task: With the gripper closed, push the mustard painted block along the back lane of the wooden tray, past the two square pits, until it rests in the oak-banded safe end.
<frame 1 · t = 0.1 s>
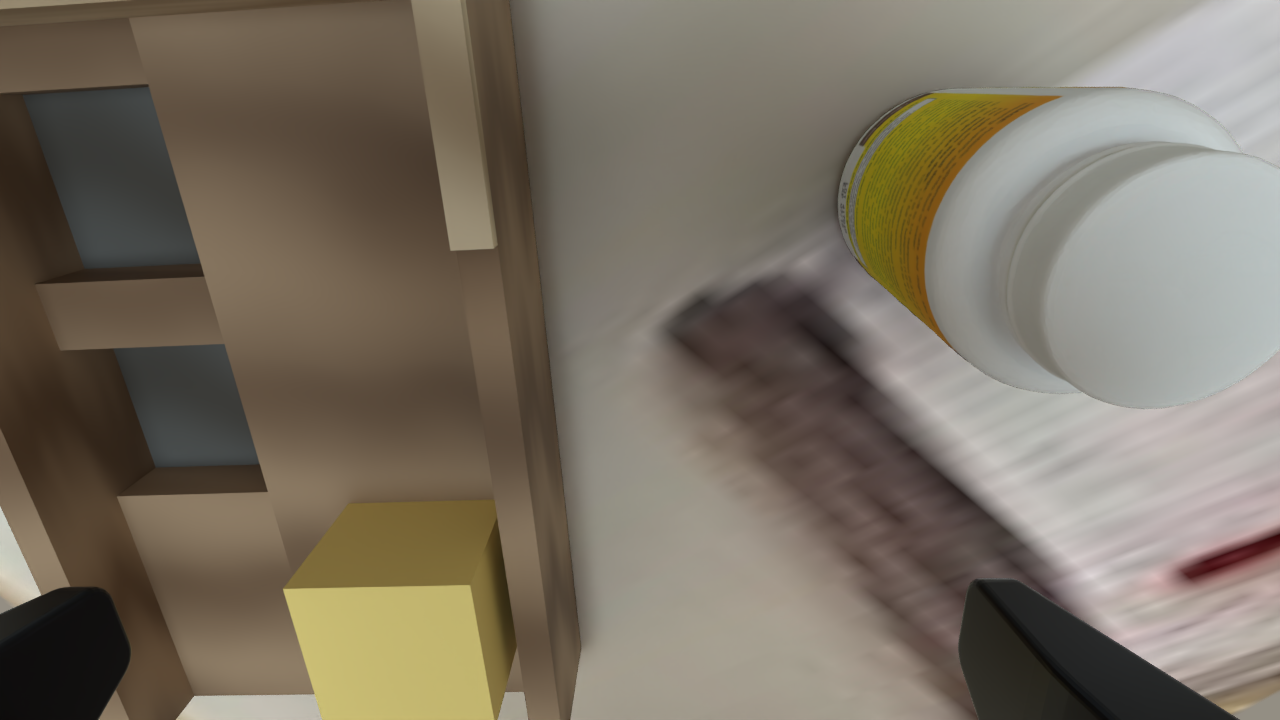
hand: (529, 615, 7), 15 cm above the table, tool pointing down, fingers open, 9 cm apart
block: (438, 566, 23), point 2 cm above the table, touching wooden tray
wooden tray: (322, 378, 22), on the table
supplement bottle: (929, 191, 20), on the table
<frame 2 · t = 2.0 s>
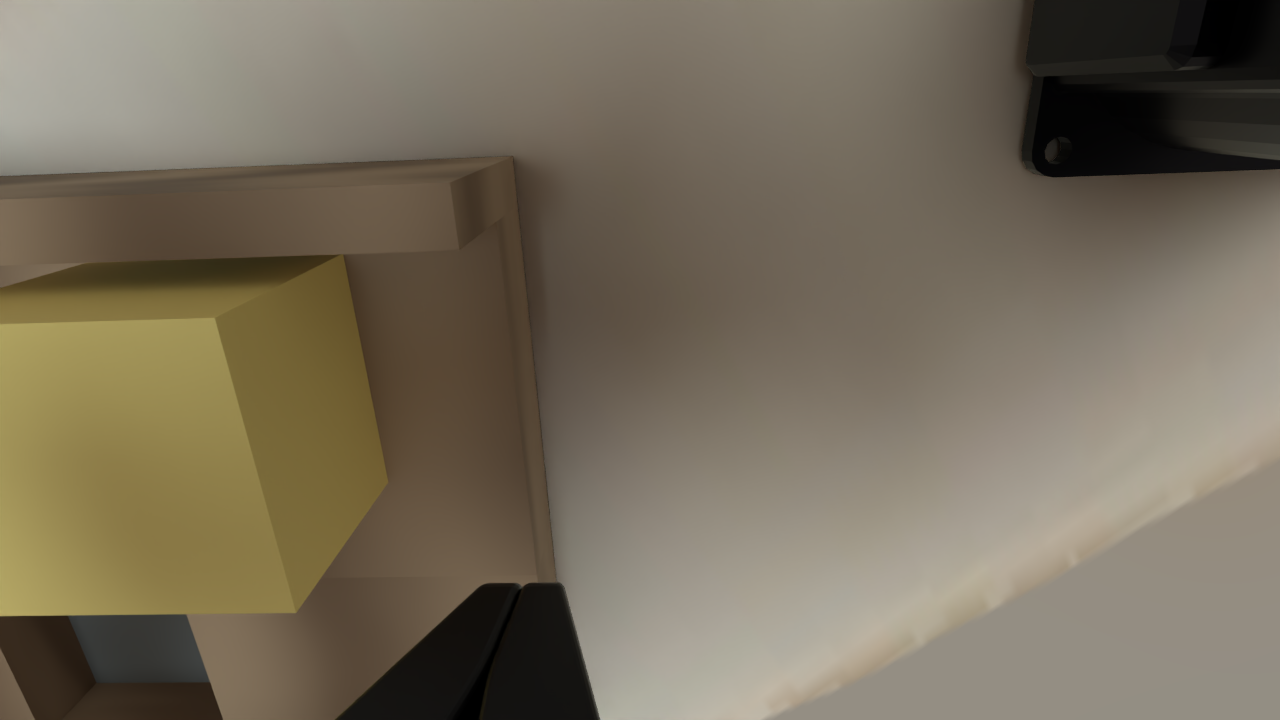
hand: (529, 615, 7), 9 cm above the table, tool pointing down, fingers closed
block: (247, 378, 14), point 2 cm above the table, touching wooden tray
wooden tray: (95, 481, 17), on the table
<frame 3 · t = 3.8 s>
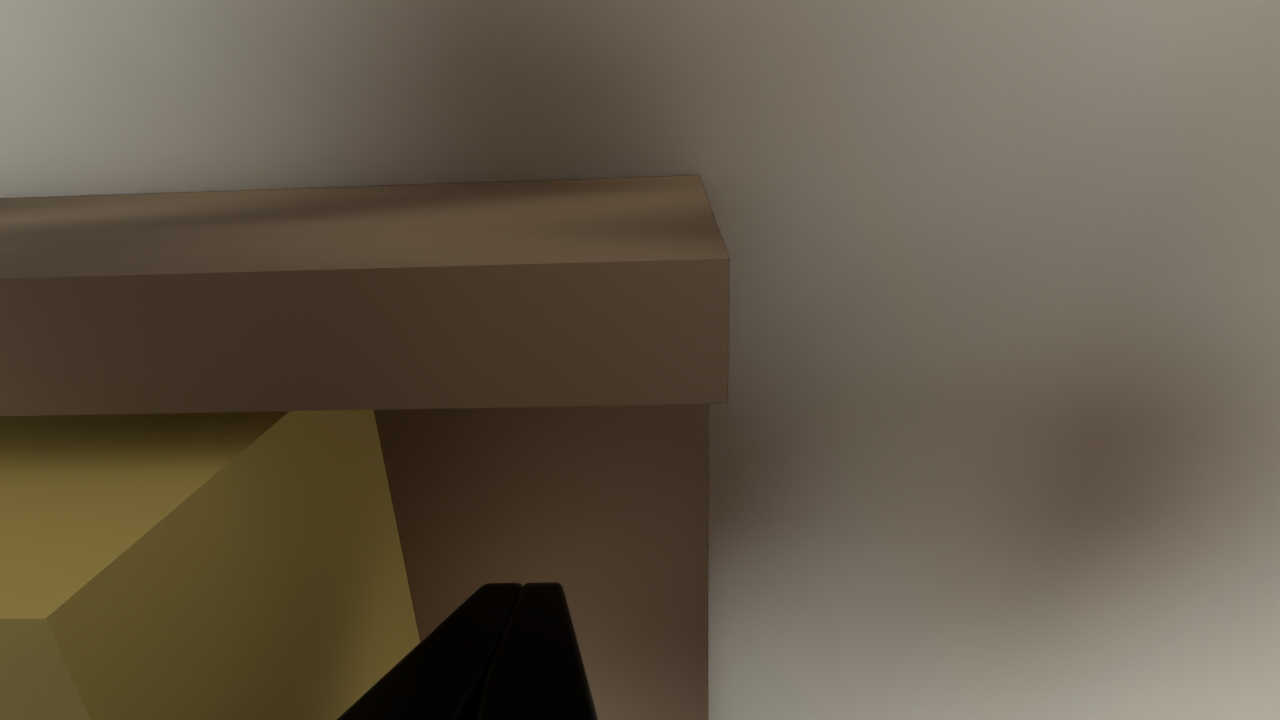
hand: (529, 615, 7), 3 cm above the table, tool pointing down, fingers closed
block: (199, 546, 8), point 2 cm above the table, touching gripper, wooden tray
wooden tray: (29, 647, 12), on the table
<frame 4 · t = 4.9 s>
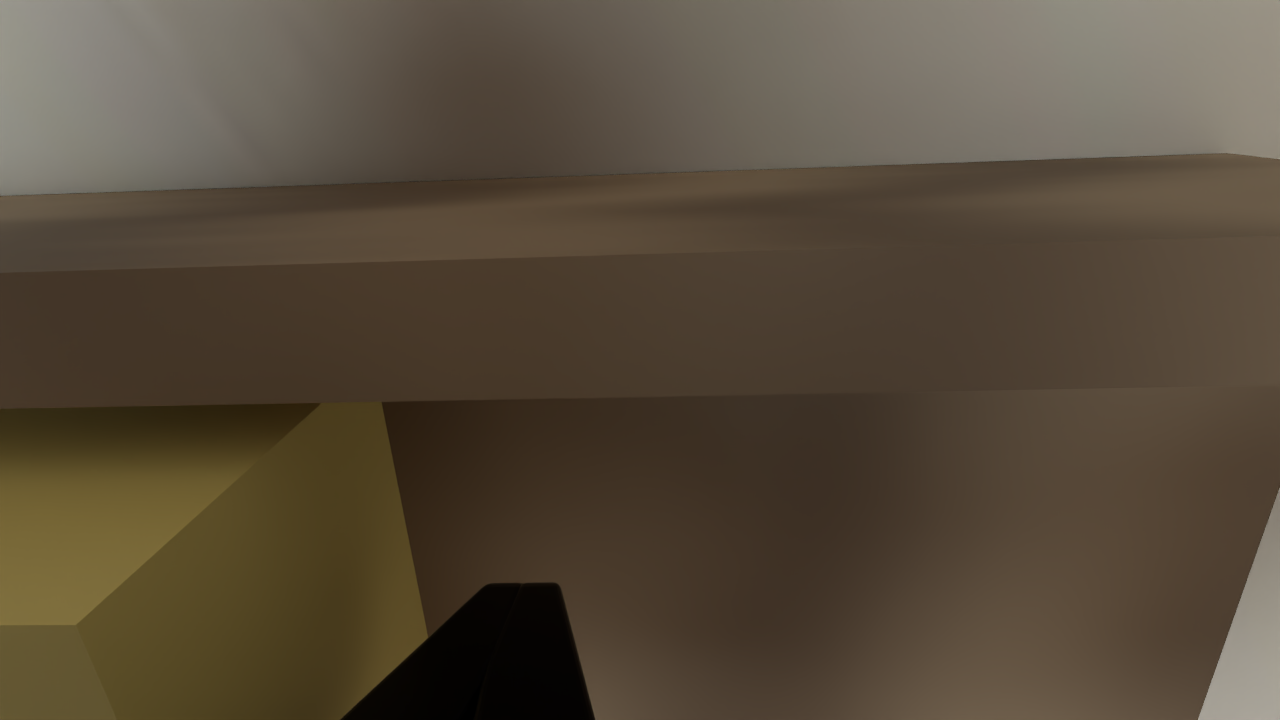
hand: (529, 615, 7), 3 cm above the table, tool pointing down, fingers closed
block: (212, 550, 8), point 2 cm above the table, touching gripper, wooden tray
wooden tray: (392, 641, 12), on the table
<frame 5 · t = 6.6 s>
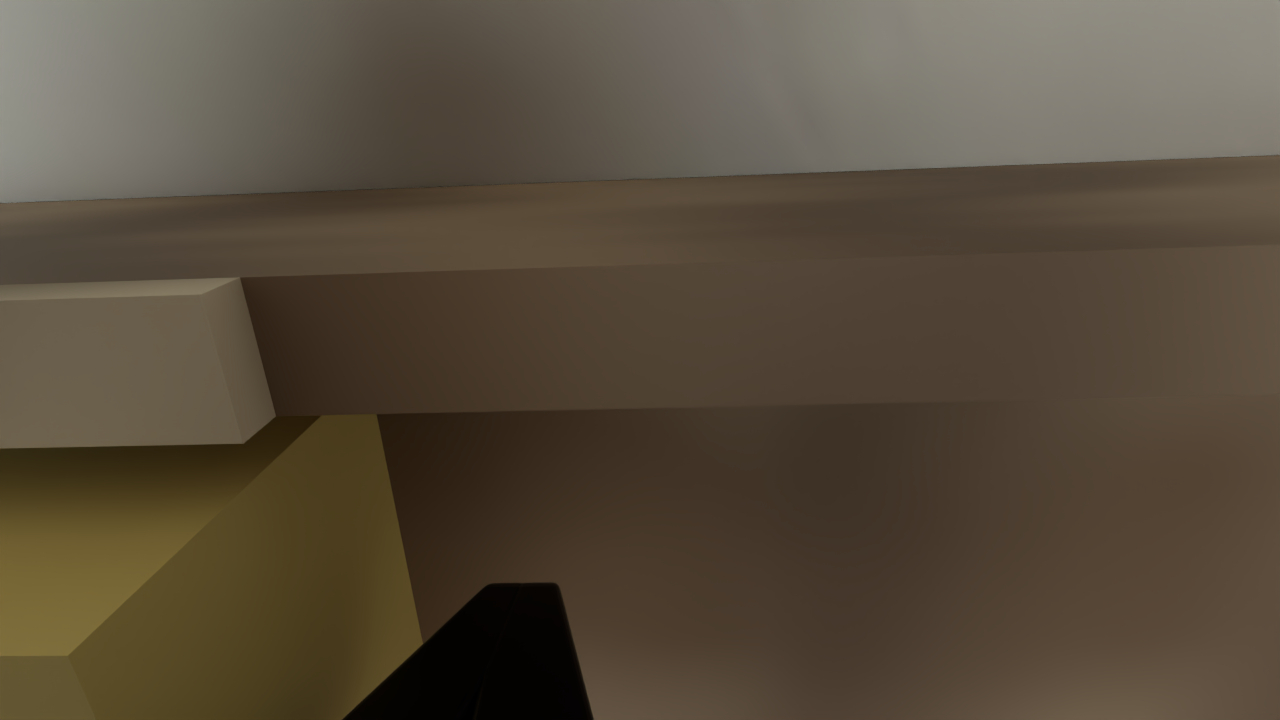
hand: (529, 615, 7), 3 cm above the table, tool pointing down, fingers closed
block: (206, 564, 8), point 2 cm above the table, touching gripper, wooden tray
wooden tray: (816, 647, 11), on the table
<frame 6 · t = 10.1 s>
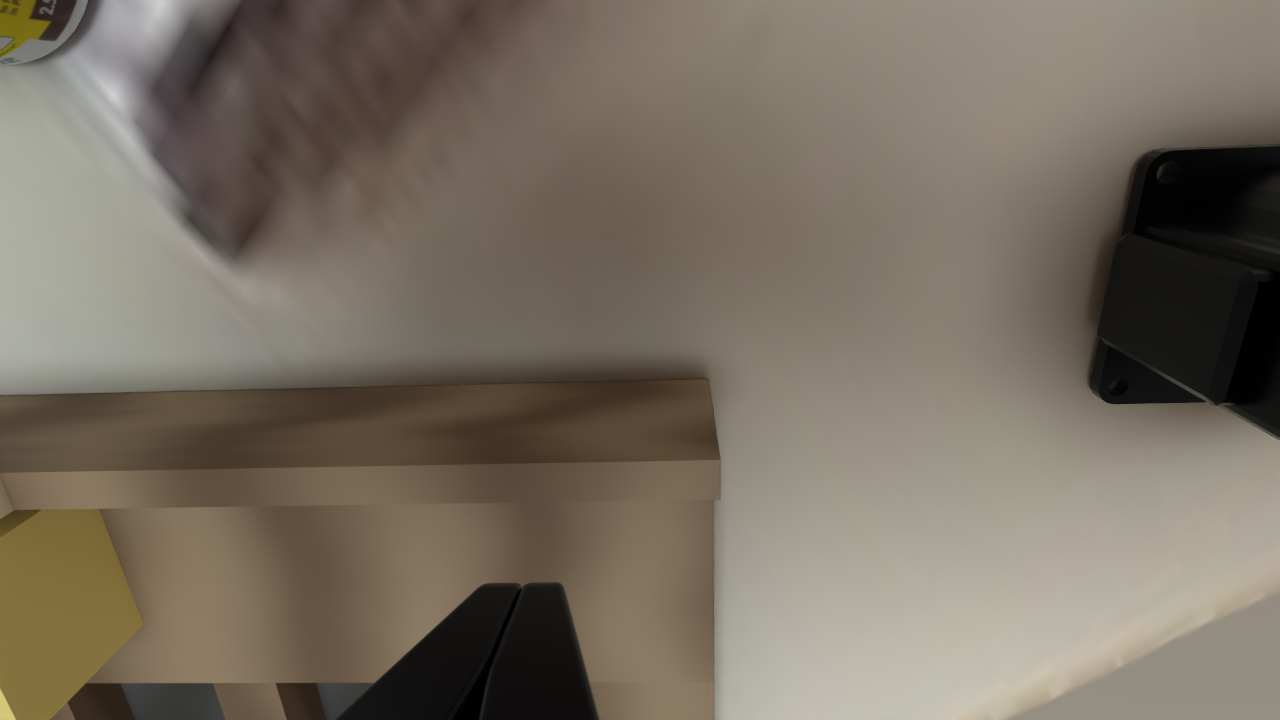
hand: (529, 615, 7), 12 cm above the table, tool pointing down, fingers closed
block: (33, 556, 20), point 2 cm above the table, touching wooden tray
wooden tray: (356, 598, 22), on the table
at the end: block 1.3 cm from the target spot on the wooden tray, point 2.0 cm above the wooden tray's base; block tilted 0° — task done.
